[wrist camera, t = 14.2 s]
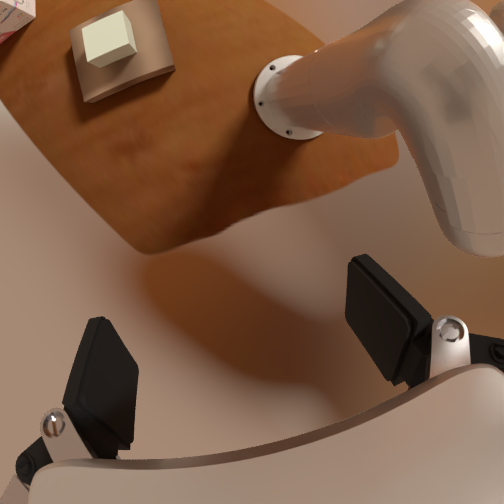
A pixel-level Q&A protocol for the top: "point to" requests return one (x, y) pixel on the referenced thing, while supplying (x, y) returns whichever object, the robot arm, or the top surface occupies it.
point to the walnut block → (133, 66)
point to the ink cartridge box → (15, 16)
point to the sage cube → (109, 39)
